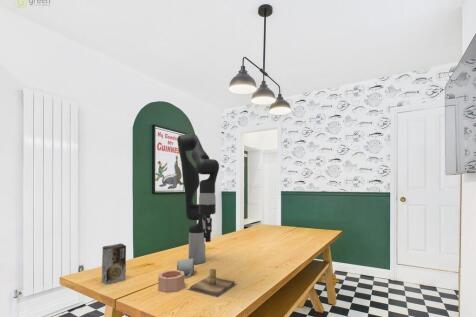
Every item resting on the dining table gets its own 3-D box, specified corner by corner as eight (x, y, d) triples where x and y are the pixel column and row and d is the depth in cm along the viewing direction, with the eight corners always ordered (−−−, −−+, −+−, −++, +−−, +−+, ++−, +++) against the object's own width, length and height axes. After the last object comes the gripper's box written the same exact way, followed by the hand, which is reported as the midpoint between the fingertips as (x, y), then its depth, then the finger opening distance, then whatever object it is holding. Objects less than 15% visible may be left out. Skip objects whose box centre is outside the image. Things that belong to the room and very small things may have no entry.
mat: (208, 279, 129) (208, 277, 129) (237, 285, 122) (237, 283, 122) (186, 291, 115) (186, 289, 115) (218, 298, 108) (218, 297, 108)
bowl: (170, 281, 126) (170, 268, 126) (189, 286, 121) (189, 272, 121) (152, 290, 116) (153, 276, 117) (171, 295, 111) (172, 280, 111)
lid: (208, 278, 128) (209, 263, 129) (234, 284, 121) (234, 267, 122) (190, 289, 116) (190, 272, 116) (217, 295, 109) (217, 277, 110)
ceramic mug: (178, 272, 139) (178, 257, 139) (194, 271, 140) (194, 256, 140) (175, 280, 128) (175, 264, 129) (193, 279, 129) (193, 263, 130)
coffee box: (120, 276, 134) (121, 243, 135) (125, 279, 129) (126, 245, 130) (100, 281, 127) (102, 246, 129) (105, 284, 123) (107, 248, 124)
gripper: (197, 202, 127) (197, 237, 126) (200, 204, 114) (199, 243, 112) (213, 201, 129) (213, 236, 128) (217, 204, 115) (217, 242, 114)
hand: (206, 239), depth 120 cm, fingers open, 8 cm apart
